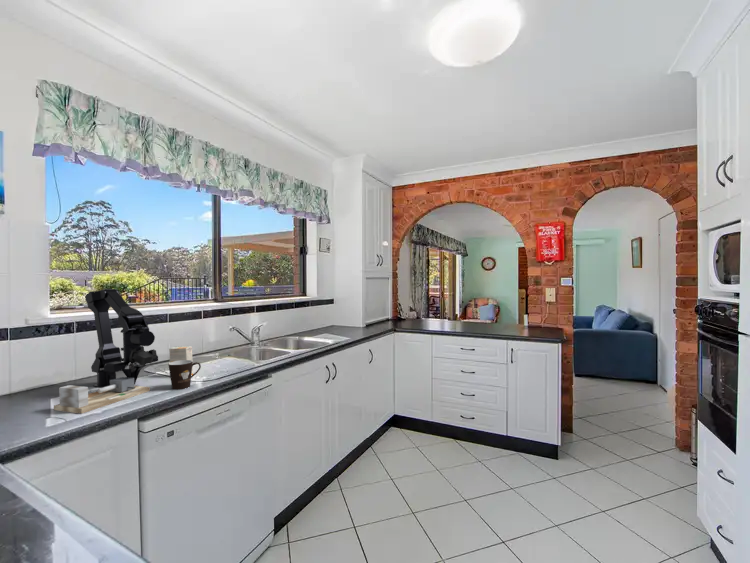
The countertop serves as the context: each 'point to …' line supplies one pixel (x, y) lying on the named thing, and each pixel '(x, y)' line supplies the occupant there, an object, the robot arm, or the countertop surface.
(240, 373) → the countertop surface
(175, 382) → the coffee mug
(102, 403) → the bench
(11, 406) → the countertop surface
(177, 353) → the supplement box
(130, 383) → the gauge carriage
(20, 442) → the countertop surface
